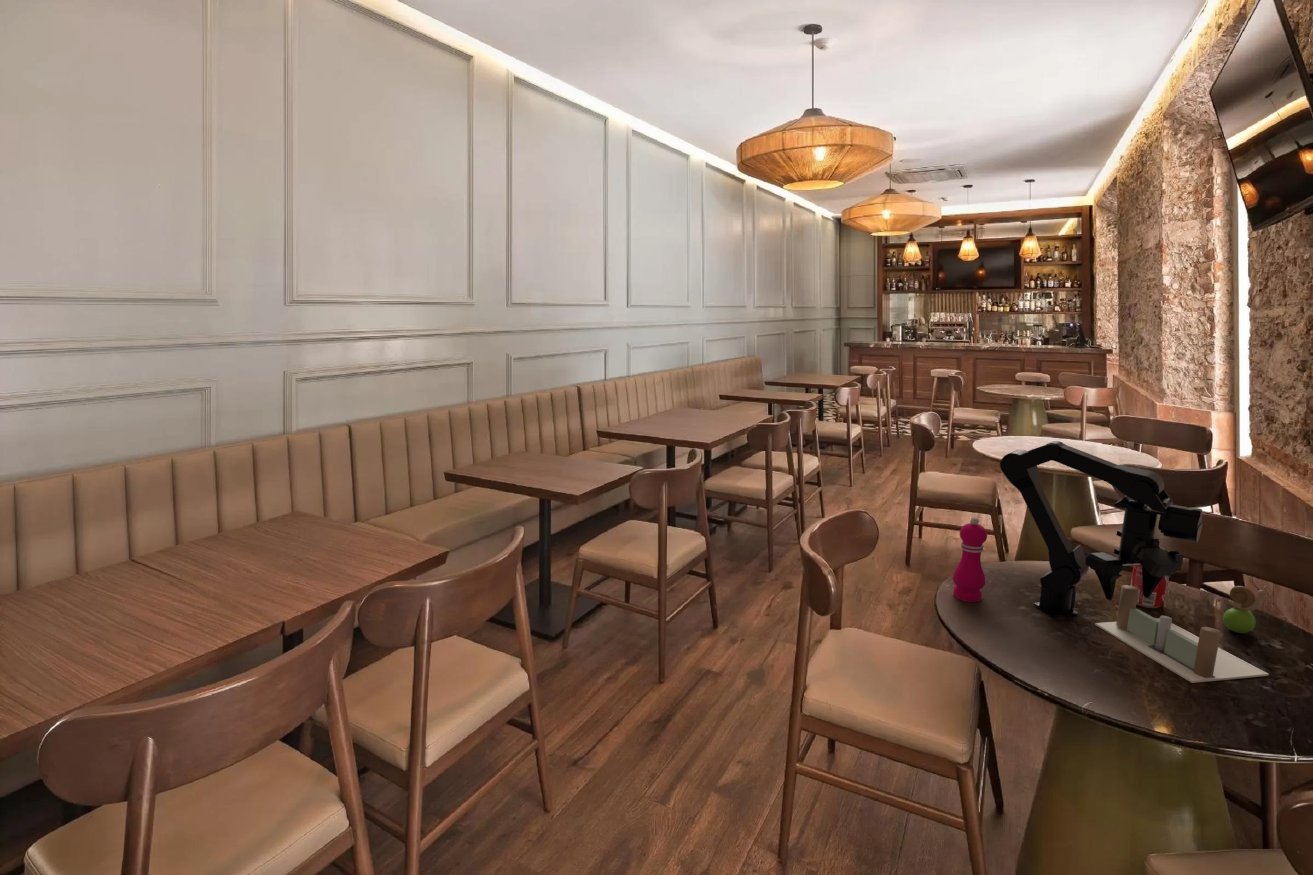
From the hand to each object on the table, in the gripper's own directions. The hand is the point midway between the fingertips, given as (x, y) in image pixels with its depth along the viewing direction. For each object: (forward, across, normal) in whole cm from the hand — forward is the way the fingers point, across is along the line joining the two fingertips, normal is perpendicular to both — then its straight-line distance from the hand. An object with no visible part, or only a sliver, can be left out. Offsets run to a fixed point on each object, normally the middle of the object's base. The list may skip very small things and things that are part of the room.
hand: (1127, 598), depth 152 cm
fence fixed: (+7, 0, -15) cm, 16 cm away
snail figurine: (+7, +24, -5) cm, 26 cm away
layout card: (+7, +4, -9) cm, 12 cm away
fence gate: (+6, 0, -4) cm, 7 cm away
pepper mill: (+8, -24, +21) cm, 33 cm away
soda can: (+8, +16, +11) cm, 21 cm away
